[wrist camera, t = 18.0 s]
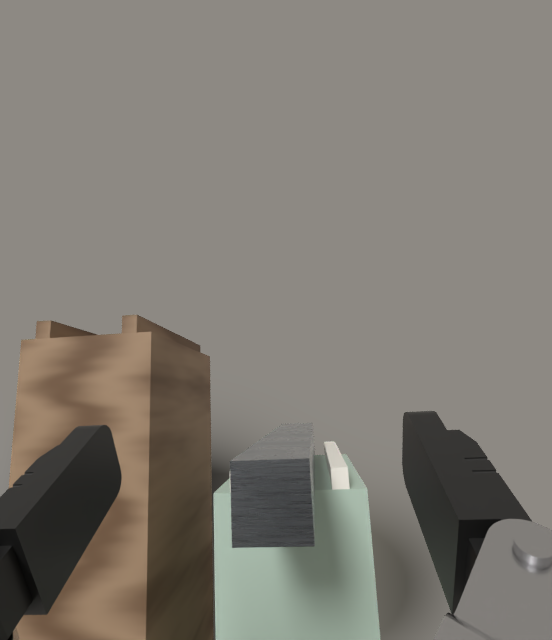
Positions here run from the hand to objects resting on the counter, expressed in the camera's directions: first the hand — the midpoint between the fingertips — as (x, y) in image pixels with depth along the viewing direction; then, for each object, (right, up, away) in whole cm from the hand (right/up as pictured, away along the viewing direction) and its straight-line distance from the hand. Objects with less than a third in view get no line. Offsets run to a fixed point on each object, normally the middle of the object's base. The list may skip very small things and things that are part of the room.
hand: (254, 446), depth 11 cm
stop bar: (+2, -7, +15) cm, 17 cm away
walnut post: (-10, -30, +16) cm, 36 cm away
